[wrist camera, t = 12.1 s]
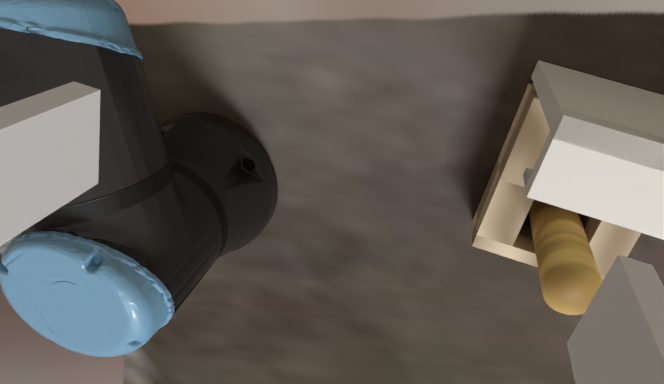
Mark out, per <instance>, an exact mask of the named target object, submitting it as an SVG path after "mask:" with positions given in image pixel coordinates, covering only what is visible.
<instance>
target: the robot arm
mask: <svg viewBox="0 0 664 384" xmlns="http://www.w3.org/2000/svg"><path fill="white" fill-rule="evenodd" d="M141 60H143V56H142V54H141V52H140V51H138V50H137V47H136V45H135V42H134V39H133V36H132V33H131V30H130V27H129V24H128V21H127V18H126V16H125V13H124V12H123V10H122V9H121V7H120V6H119V5H118V4H117V3H116V2H115V1H114V0H0V246H1V245H3V244H4V243H6V242H7V241H9V240H10V239H12V238H14V237H15V236H17V235H18V234H21V235H20V236H19V237H17V238H16V239H14V240H12V242H11V243H10V244H9V245H8V247H7V249H6V250H5V252H4V253H3V254H2V257H1V262H2V263H1V264H0V284H1V287H2V290H3V292H4V295H5V296H6V298H7V300H8V302H9V303H10V305H11V306H12V307H13V309H14V310H15V311H16V312H17V314H18V315H19V316H20V317H21V318H22V319H23V320H24V321H25V322H26V323H27V324H28V325H30V326H31V327H32V328H33V329H34V330H36V331H37V332H38V333H40V334H41V335H42V336H44V337H45V338H48V339H50V340H52V341H54V342H55V343H57V344H58V345H60V346H62V347H64V348H67V349H69V350H72V351H75V352H78V353H82V354H85V355H90V356H100V357H113V356H119V355H124V354H127V353H130V352H132V351H134V350H136V349H138V348H140V347H141V346H142V345H144V344H145V343H146V342H147V341H148V340H149V339H150V338H151V337H152V336H153V335H154V334H155V333H156V332H157V331H158V330H159V329H160V328H161V327H163V326H164V325H166V324H167V323H168V321H169V320H170V319H171V317H172V316H173V314H174V313H175V312H176V311H177V309H178V308H179V307H180V305H181V304H182V303H183V302H184V300H185V299H186V298H187V297H188V295H189V294H190V293H191V291H192V290H193V289H194V288H195V286H196V285H197V284H198V282H199V281H200V280H201V279H202V277H203V276H204V275H205V274H206V272H207V271H208V270H209V268H210V267H211V266H212V265H213V263H214V262H215V261H216V260H217V258H218V257H220V256H222V255H224V254H226V253H228V252H231V251H234V250H237V249H239V248H241V247H243V246H245V245H247V244H248V243H250V242H251V241H252V240H254V239H255V238H256V237H257V236H258V235H259V234H260V233H261V231H262V230H263V229H264V227H265V226H266V225H267V223H268V222H269V220H270V219H271V217H272V215H273V213H274V210H275V207H276V202H277V181H276V176H275V172H274V169H273V166H272V164H271V162H270V160H269V158H268V156H267V154H266V152H265V151H264V149H263V148H262V147H261V145H260V144H259V143H258V142H257V141H256V140H255V138H254V137H253V136H251V135H250V134H249V133H248V132H247V131H246V130H244V129H243V128H242V127H240V126H239V125H237V124H235V123H234V122H232V121H230V120H228V119H225V118H223V117H220V116H216V115H212V114H206V113H191V114H185V115H182V116H179V117H176V118H174V119H172V120H170V121H168V122H167V123H165V124H163V125H162V126H160V124H159V120H158V117H157V113H156V110H155V106H154V103H153V99H152V96H151V92H150V89H149V85H148V82H147V78H146V75H145V71H144V68H143V64H142V61H141ZM567 346H568V351H569V355H570V360H571V365H572V369H573V374H574V379H575V384H664V286H663V284H662V282H661V281H660V279H659V277H658V275H657V273H656V271H655V269H654V267H653V265H650V264H646V263H643V262H640V261H637V260H634V259H631V258H628V257H624V256H621V255H618V256H617V258H616V259H615V261H614V263H613V265H612V266H611V268H610V270H609V272H608V273H607V275H606V277H605V278H604V280H603V282H602V284H601V285H600V287H599V289H598V291H597V292H596V294H595V296H594V297H593V299H592V301H591V303H590V304H589V306H588V308H587V309H586V311H585V313H584V315H583V316H582V318H581V320H580V322H579V323H578V325H577V327H576V328H575V330H574V332H573V334H572V335H571V337H570V339H569V341H568V342H567Z"/></svg>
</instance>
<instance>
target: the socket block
mask: <svg viewBox="0 0 664 384" xmlns="http://www.w3.org/2000/svg"><path fill="white" fill-rule="evenodd" d="M549 133H550V129H549V126H548V123H547V120H546V118H545V115H544V112H543V109H542V106H541V104H540V101H539V98H538V95H537V92H536V90H535V87H534V84H531V83H529V84H528V86H527V89H526V91H525V93H524V96H523V98H522V101H521V103H520V106H519V108H518V111H517V113H516V116H515V118H514V120H513V123H512V125H511V128H510V130H509V133H508V135H507V138H506V140H505V143H504V145H503V147H502V150H501V152H500V155H499V157H498V160H497V162H496V165H495V167H494V170H493V172H492V174H491V177H490V179H489V182H488V184H487V187H486V189H485V192H484V194H483V196H482V199H481V201H480V204H479V206H478V209H477V211H476V214H475V216H474V219H473V231H472V246H474V247H477V248H480V249H483V250H486V251H489V252H492V253H495V254H498V255H501V256H504V257H507V258H511V259H514V260H517V261H520V262H523V263H526V264H529V265H532V266H535V267H538V265H537V259H536V253H535V247H534V241H533V236H532V230H531V227H530V226H527V225H523V223H524V220H525V218H526V216H527V214H528V212H529V210H530V207H531V205H532V203H533V201H534V199H531V198H528V197H527V196H526V190H525V184H524V179H523V174H524V172H525V170H526V168H529V169H533V168H534V166H535V164H536V162H537V159H538V157H539V155H540V153H541V150H542V148H543V146H544V144H545V141H546V139H547V137H548V135H549ZM580 219H581V222H582V225H583V228H584V231H585V233H586V236H587V239H588V242H589V245H590V247H591V250H592V253H593V256H594V259H595V262H596V264H597V267H598V270H599V273H600V276H601V279H602V281H603V280H604V278H605V277H606V275H607V273H608V272H609V270H610V268H611V266H612V265H613V263H614V261H615V259H616V258H617V256H618V255H621V256H624V257H627V256H628V255H629V253H630V251H631V250H632V248H633V246H634V244H635V243H636V241H637V239H638V238H639V236H640V234H641V232H638V231H634V230H631V229H628V228H625V227H621V226H618V225H615V224H612V223H609V222H605V221H602V220H599V219H596V218H592V217H589V216H586V215H583V214H581V215H580Z"/></svg>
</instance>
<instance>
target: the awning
mask: <svg viewBox="0 0 664 384" xmlns="http://www.w3.org/2000/svg"><path fill="white" fill-rule="evenodd" d="M531 78H532V81H533V84H534V87H535V90H536V92H537V95H538V98H539V101H540V104H541V106H542V109H543V112H544V115H545V118H546V120H547V123H548V126H549V129H550V133H549V135H548V137H547V139H546V141H545V144H544V146H543V148H542V150H541V153H540V155H539V157H538V159H537V162H536V164H535V166H534V168H533V169H529V168H526V170H525V172H524V174H523V179H524V184H525V190H526V196H527V197H528V198H531V199H534V200H538V201H541V202H544V203H547V204H551V205H554V206H557V207H560V208H563V209H567V210H570V211H573V212H576V213H580V214H583V215H586V216H589V217H592V218H596V219H599V220H602V221H605V222H609V223H612V224H615V225H618V226H621V227H625V228H628V229H631V230H634V231H638V232H641V233H644V234H647V235H650V236H654V237H657V238H660V239H663V240H664V95H661V94H658V93H654V92H651V91H647V90H643V89H640V88H636V87H633V86H629V85H626V84H622V83H618V82H615V81H611V80H608V79H604V78H600V77H597V76H593V75H590V74H586V73H583V72H579V71H575V70H572V69H568V68H565V67H561V66H558V65H554V64H550V63H547V62H543V61H540V60H538V62H537V64H536V66H535V69H534V71H533V74H532V76H531Z"/></svg>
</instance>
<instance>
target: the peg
mask: <svg viewBox="0 0 664 384" xmlns="http://www.w3.org/2000/svg"><path fill="white" fill-rule="evenodd" d="M529 218H530V224H531V230H532V236H533V241H534V247H535V253H536V259H537V265H538V270H539V276H540V282H541V288H542V294H543V297H544V300H545V301H546V303H547V304H548V305H549V306H550V307H551V308H552V309H554V310H555V311H557V312H560V313H563V314H568V315H579V314H584V313H585V311H586V309H587V308H588V306H589V304H590V303H591V301H592V299H593V297H594V296H595V294H596V292H597V291H598V289H599V287H600V285H601V284H602V282H603V281H602V279H601V276H600V273H599V270H598V267H597V264H596V262H595V259H594V256H593V253H592V250H591V247H590V245H589V242H588V239H587V236H586V233H585V231H584V228H583V225H582V222H581V219H580V216H579V214H578V213H576V212H573V211H570V210H567V209H563V208H560V207H557V206H554V205H551V204H547V203H544V202H541V201H538V200H534V201H533V203H532V205H531V207H530V210H529Z"/></svg>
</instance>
